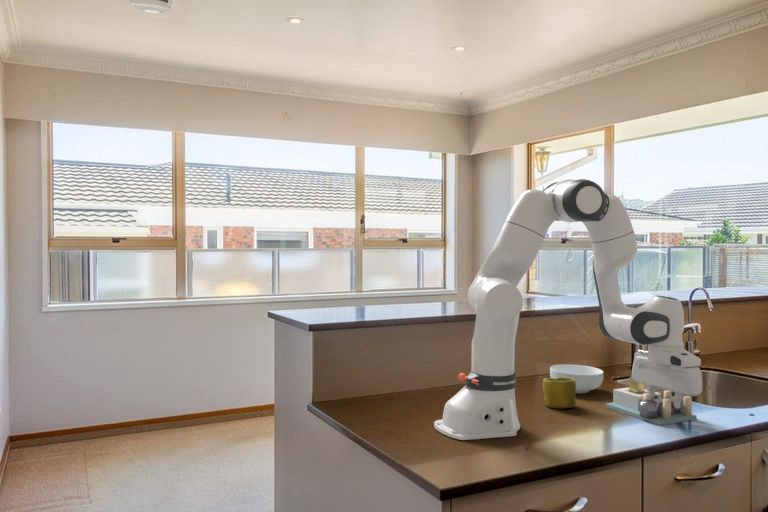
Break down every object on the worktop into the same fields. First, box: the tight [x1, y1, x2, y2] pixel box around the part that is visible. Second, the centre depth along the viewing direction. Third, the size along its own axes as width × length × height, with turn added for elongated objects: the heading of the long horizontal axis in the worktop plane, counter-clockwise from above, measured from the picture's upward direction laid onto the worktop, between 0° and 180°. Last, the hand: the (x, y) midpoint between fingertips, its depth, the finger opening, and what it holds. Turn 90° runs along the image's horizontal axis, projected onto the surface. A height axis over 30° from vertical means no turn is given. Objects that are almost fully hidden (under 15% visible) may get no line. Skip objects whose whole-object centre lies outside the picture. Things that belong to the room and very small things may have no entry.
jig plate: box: [604, 386, 698, 426], centre depth 166 cm, size 14×19×6 cm
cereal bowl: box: [549, 363, 604, 394], centre depth 191 cm, size 17×17×7 cm
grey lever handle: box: [640, 395, 684, 419], centre depth 161 cm, size 14×5×4 cm, turn 114°
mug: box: [542, 377, 577, 410], centre depth 173 cm, size 12×10×10 cm
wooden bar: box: [628, 376, 646, 394], centre depth 170 cm, size 3×3×8 cm
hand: (664, 404), depth 161 cm, fingers open, 6 cm apart
